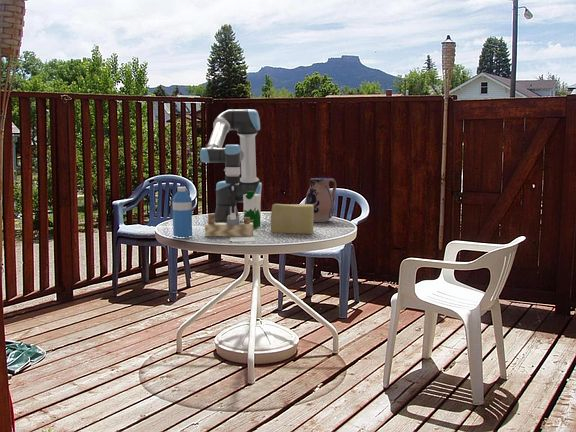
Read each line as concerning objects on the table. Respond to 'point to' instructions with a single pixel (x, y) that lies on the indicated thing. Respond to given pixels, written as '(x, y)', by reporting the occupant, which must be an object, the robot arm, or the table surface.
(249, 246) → the table surface
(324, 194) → the ceramic pitcher
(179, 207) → the water bottle
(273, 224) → the cheese
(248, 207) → the milk carton
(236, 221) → the lever cap
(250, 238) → the mat
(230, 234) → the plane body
